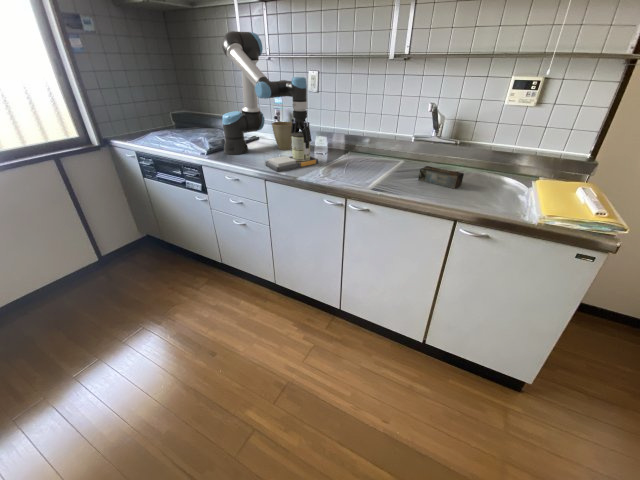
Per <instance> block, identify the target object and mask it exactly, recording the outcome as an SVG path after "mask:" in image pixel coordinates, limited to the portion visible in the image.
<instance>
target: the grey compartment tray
mask: <svg viewBox="0 0 640 480" xmlns="http://www.w3.org/2000/svg"><path fill="white" fill-rule="evenodd" d="M318 164H319V159H318V158H316V157H313V156H311V155H310V159H309V160H307V161H296V160H294V159H293V155H292V156H286V155H282V156H277V157H272V158H268V159H267V161H265V166H266V167H267V168H269V169H270V170H273V171H275V172H276V173H281V172H285V171H289V170H290V171H291V170H295V169H299V168H304V167H309V166H312V165H313V166H314V165H318Z"/></svg>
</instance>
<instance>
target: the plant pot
mask: <svg viewBox="0 0 640 480" xmlns="http://www.w3.org/2000/svg"><path fill="white" fill-rule="evenodd" d="M271 126H272V127H271V128H272V131H273V136H274V138H275V142H276V145H277V148H278V150H281V151H289V150H291V148H292V137H291V127H292V121H275V122H272V123H271Z"/></svg>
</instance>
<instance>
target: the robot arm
mask: <svg viewBox="0 0 640 480" xmlns="http://www.w3.org/2000/svg"><path fill="white" fill-rule="evenodd" d="M221 48H222V49H221V50H222V52H223V53H224V55H225V57H226V58H227V59H228V60H229V61H230V62H233V64H234V65H235V66H237V67H238V69H239V70H240V71H241V84H242V98H243V99H242V101H243V107H242V108H241V111H240V110H239V111H238V110H235V111H230V112H226V113H224V114H223V115H222V120H221V121H222V122H221V123H222V126H223V132H224V140H225V141H224V146H223V151H224V154H227V155H242V154H243V155H244V154H246V153H248V152H249V147H248V145H247V141H246V139H245V135H244V134H247V133H253V132H258V131H261V130H262V129H263V128H264V126H265V116H264V113H263V112H262V111H261V108H260V107H259V106H258V104H259V103H258V101H259V100H258V98H259V99H264V100H265V99H273V98H284V97H289V98H290V97H291V98H292V109H293V110H292V117H293V118H291V122H292V127H291V133H293V132H295V133H296V132H299V131H302V134H303V135H304V141H305V142H304V155H306V154H309V142H310V143H311V142H312V134H311V128H310V122H308V121H306V119H307V118H308V90H307V89H308V85H307V78H306V77H303V76H294V77H292V78H291V80H286V79H282V80H277V81H275V80H274V81H270V79H269V78H268V77H267V76H266V75H265V74H264V72H262V71H261V69H260V68H259V67H258V66H257V63H258V62H259V58H260V56H262V53H263V43H262V40H261V38H260V37H259V35H258V33H255V32H251V31H234V30H232V31H231V30H230V31H227V33H225V34H224V35H223V37H222V40H221ZM291 137H292V135H291Z"/></svg>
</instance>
